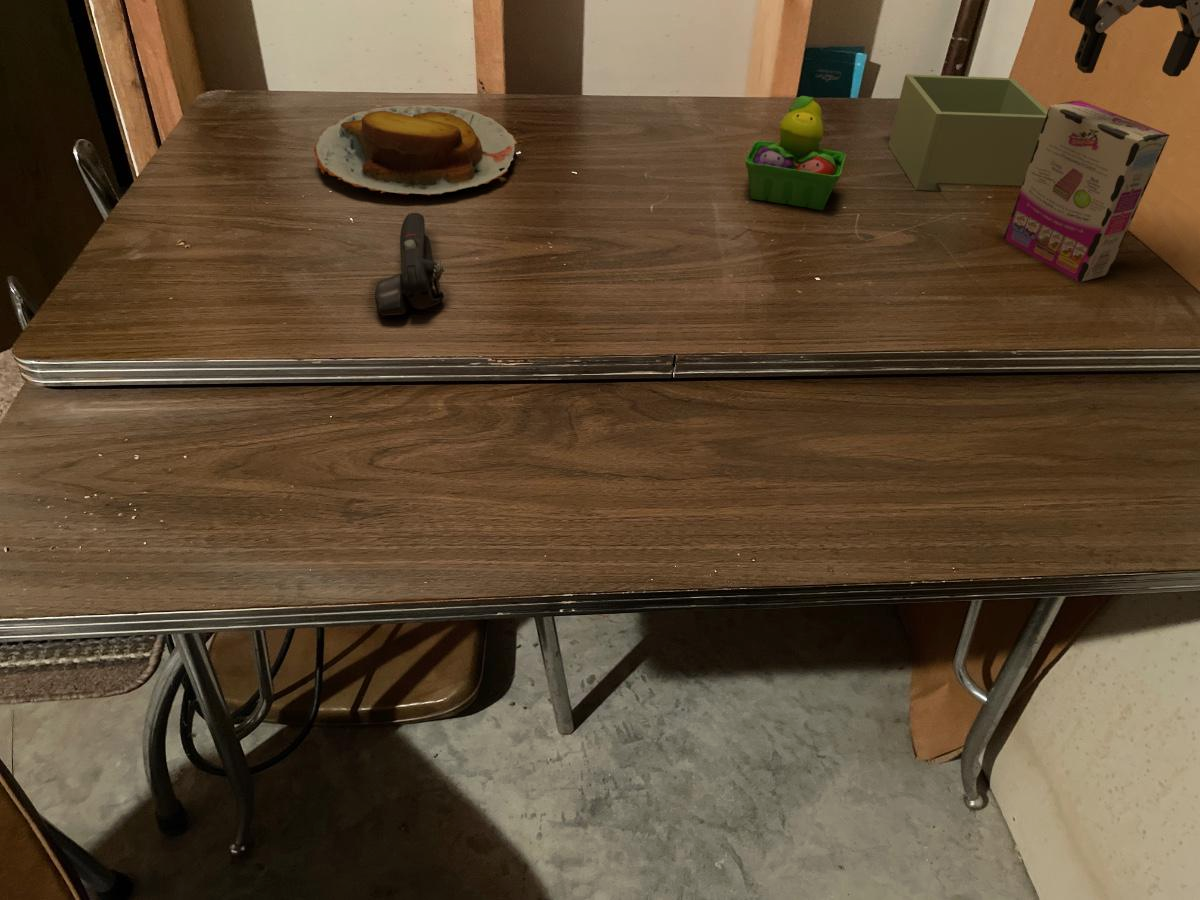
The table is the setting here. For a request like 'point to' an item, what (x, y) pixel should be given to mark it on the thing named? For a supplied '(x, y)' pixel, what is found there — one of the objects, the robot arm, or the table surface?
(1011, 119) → the waste bin
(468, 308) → the table surface
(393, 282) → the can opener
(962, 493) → the table surface
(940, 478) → the table surface
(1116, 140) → the candy bar box
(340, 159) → the food on plate
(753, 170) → the fruit basket
